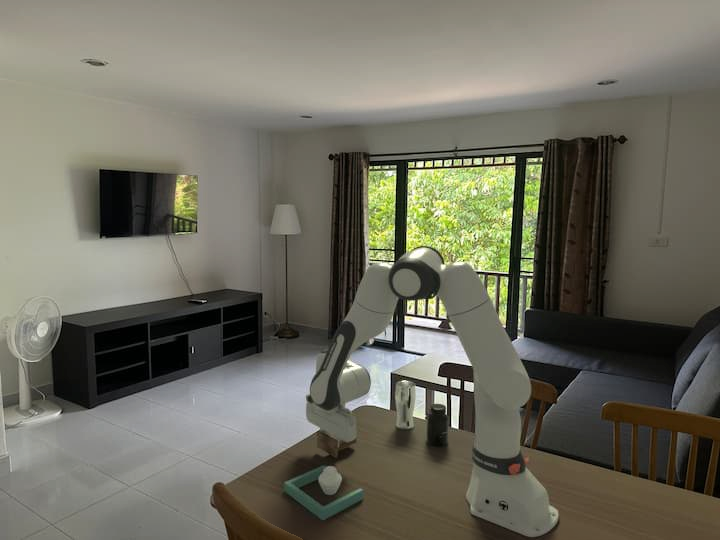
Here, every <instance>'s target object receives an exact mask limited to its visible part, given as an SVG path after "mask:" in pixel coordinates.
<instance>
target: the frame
mask: <svg viewBox="0 0 720 540" xmlns="http://www.w3.org/2000/svg"><path fill="white" fill-rule="evenodd" d="M326 467H327V466H326V465H324V464H323V465H321V466H319V467H317V468H315V469H312V470H310V471H307V472H306V473H303V474H301V475H298V476H296V477H293V478H291V479H290V480H287V481H284V482H283V484H284V485H283V486H284V489H283V490H284V492H285V493H286V494H287V495H288V496H289V497H291V498H293V500H294V501H295V500H296V501H297V502H298V503H299V504H300V505H301V506H303V507H305V508H306V510H308V511H309V512H311V513H312V514H313V515H314V516H316V517H317V518H318V519H320V520H321V521H325V520H327V519H328V518H330V517H332V516H334V515H336V514H338V513H340V512H342V511H344V510H345V509H347V508H349V507H351V506H353V505H355V504H357V503H359V502H360V501H362V500H364V489H362V488H361V487H360V488H357V489H356V490H354V491H352V492H349V493H348V494H347V493H346V495H344V496H342V497H340V498H338V499H335V500H334V501H332V502H330V503H328V504H326V505H324V506H323V505H322V504H321V503H319V502H318V500H317V501H316V500H315V499H314V498H313V497H311V496H310V495H308V494H307V493H306V492H305V491H303V490H301V489H300V488H302V487H304V486H306V485H308V484H310V483H313V482H315V481H317V480H318V479H319V476H320V475H321V474H322V473H323V472H324V471H323V470H324V469H325V468H326Z"/></svg>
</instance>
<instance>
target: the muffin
mask: <svg viewBox="0 0 720 540" xmlns="http://www.w3.org/2000/svg"><path fill="white" fill-rule="evenodd" d="M323 471H324V472H323V473H322V474H321V475H320V476H319V479H317V480H318V483H319V486H320V488H321V490H322V492H323V494H325V495H327V496H332V495H335V494H336V493H337V491H338V490H339V488H340V486H341V483H342V481H343V477H342V475H341V473H339V472H338V470H337V468H336V467H335V466H333V465H328V466H326V468H325V469H324V470H323Z"/></svg>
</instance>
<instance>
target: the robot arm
mask: <svg viewBox="0 0 720 540" xmlns="http://www.w3.org/2000/svg"><path fill="white" fill-rule="evenodd" d="M435 297H437V298H438V299H439V300H440V301H441V303H442V305H443V307H444V309H445V312H446V313H447V316H448V318H449V320H450V322H451V324H452V327H453V328H454V331H455V333H456V336H457V338H458V339H459V340H458V341H460V345H462V347H463V350H464V352H465V354H466V357H467V358H468V361H469V363H470V365H471V368H472V369H473V395H474V397H473V398H474V409H475V410H474V411H475V420H474V421H475V424H474V425H475V426H474V442H473V444H472V455H471V459H472V462H473V463H472V471H471V476H470V481H469V486H468V488H467V491H466V494H465V498H466V501H467V502H468V504H469V506H470V513H471V515H472V516H476V517H477V518H480V519H483V520H485V521H487V522H490V523H493V524H494V525H495V524H496V525H498V526H500V527H503V528H506V529H507V530H510V531H512V532H516V533H518V534H520V535H522V536H525V537H528V538H536V537H540V536H543V535H544V534H545V535H546V534H547V533H548V532H550V531H551V530H552V529H553V528H554V527H556V525H557V523H558V522H559V510H558V509H557V508H555V507H554V506H553V505H550V501H549V500H550V499H549V495H548V491H547V489H546V488H545V487H544V486H543V484H541V482H539V480H538V479H537V478H536V476H535V475H533V473H532V472H531V471H530V470H529V469H528V468H527V467H526V466H527V465H526V464H528V462H529V461H530V460H529V459H530V456H527V457H526V458H524V456H523V453H522V451H521V432H522V431H521V429H522V418H521V414H520V413H521V412H520V408H522V407H524V405H526V404H527V402H528V401H529V399H530V397H531V395H532V394H531V393H532V384H531V380H530V377H529V375H528V372H527V370H526V367H525V366H524V364H523V362H522V360H521V358H520V356H519V354H518V351H517V350H516V348H515V347H514V343H513V342H512V340H511V338H510V337H509V335H508V333H507V331H506V329H505V327H504V325H503V323H502V321H501V318H500V316H499V315H498V312H497V310H496V308H495V306H494V304H493V301H492V299H491V296H490V294H489V293H488V290H487V288H486V287H485V285H484V283H483V282H482V280H481V278H480V276H479V275H478V273H477V271H475V269H474V268H473V267H472V265H470V264H469V263H467V262H465V261H455V262H451V263H449V264H445V260H444V257H443V255H442V253H441V252H440V251H439V250H438V249H437V248H436V247H433V246H431V245H420V246H419V245H418V246H417V247H413V249H411V250H409V251H407V252H405V253H404V254H403V255H401V257H399V259H398V260H396V261H395V263H393V264H389V263H386V262H375V263H372V264H371V265H370V266H368V267H367V269H366V270H365V272H364V274H363V276H362V279H361V280H360V283H359V285H358V288H357V291H356V293H355V297H354V300H353V303H352V305H351V307H350V310H349V311H348V313H347V314H346V316H345V318H344V319H343V321H342V322H341V323H340V325H339V326H338V327H337V329H336V331H335V332H334V334H333V337H332V338H331V341H330V344H329V346H328V348H325V349H323V350H322V349H321V351H318V354H317V357H316V365H315V374H314V375H313V377H312V379H311V382H310V385H309V393H307V394H306V395H305V401H306V405H305V415H306V420H307V422H308V423H309V424H310V423H311V425H314V426H315V427H317V428H319V431H321V432H323V433H325V434H327V435H328V436H329V434H330V435H334V438H335V440H338V448H339V442H340V440H343V441H345V442H350V441H352V440H355V438H356V439H357V437H358V434H357V433H358V432H357V431H358V430H357V422H356V417H355V415H354V413H353V412H352V409H349V408H347V407H346V404H347V403H349V402H352V401H354V400H358V399H360V398H363V397H365V396H366V395H368V393H369V391H370V389H371V384H372V381H371V380H372V379H371V376H370V373H369V371H368V370H367V368H366V367H364V366H363V365H362V364H358V363H356V362H355V361H353V360H352V359H351V358H350V357H351V355H352V354H353V353H354V352H355V351H356V350H357V349H358V348H359V347H361V346H362V345H364V343H367V342H368V341H370V340H372V339H374V338H376V337H377V336H379V335H381V334H383V332H385V331H386V330H387V328H388V327H389V326H390V323H391V321H392V320H393V316H394V313H395V310H396V307H397V304H398V301H399V299H401V300H404V301H409V302H410V301H419V300H432V299H434V298H435Z"/></svg>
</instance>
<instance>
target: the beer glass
mask: <svg viewBox="0 0 720 540" xmlns="http://www.w3.org/2000/svg"><path fill="white" fill-rule="evenodd" d="M416 393H417V392H416V383H415V382H413V381H410V380H400V381H399V380H398V381H397V382H396V383H395V393H394V397H395V406H396V407H395V408H396V414H397V415H396V417H397V418H396V424H395V426H396V427H397V428H398V429H401V430H406V429H407V430H412V429H413V428H414V426H415V423H414V417H413V416H414V410H415V409H414V408H415V405H416V397H417V396H416V395H417V394H416ZM407 430H406V431H407Z"/></svg>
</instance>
